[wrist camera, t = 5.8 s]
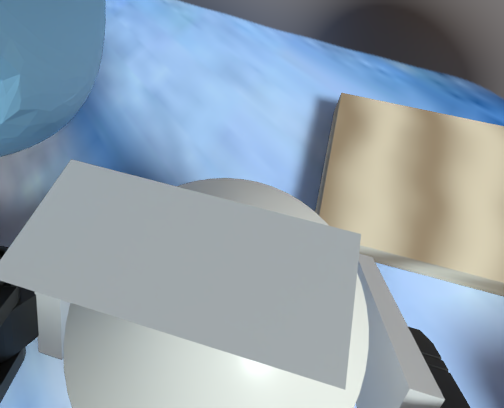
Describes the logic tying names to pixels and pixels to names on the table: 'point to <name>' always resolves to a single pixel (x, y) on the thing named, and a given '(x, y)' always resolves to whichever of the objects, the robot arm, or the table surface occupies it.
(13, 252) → the white bottle
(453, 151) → the oak board
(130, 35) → the table surface
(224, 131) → the table surface
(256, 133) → the table surface
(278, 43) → the table surface
